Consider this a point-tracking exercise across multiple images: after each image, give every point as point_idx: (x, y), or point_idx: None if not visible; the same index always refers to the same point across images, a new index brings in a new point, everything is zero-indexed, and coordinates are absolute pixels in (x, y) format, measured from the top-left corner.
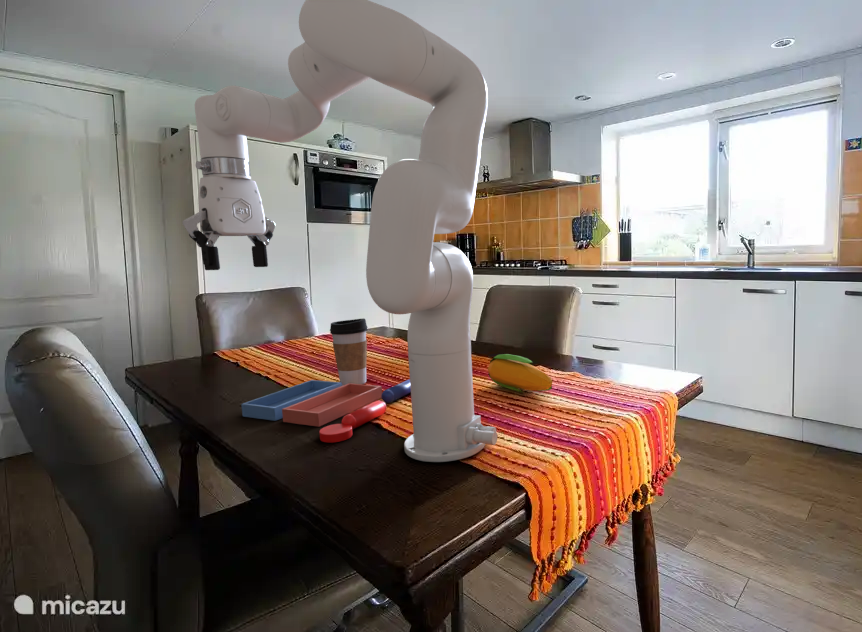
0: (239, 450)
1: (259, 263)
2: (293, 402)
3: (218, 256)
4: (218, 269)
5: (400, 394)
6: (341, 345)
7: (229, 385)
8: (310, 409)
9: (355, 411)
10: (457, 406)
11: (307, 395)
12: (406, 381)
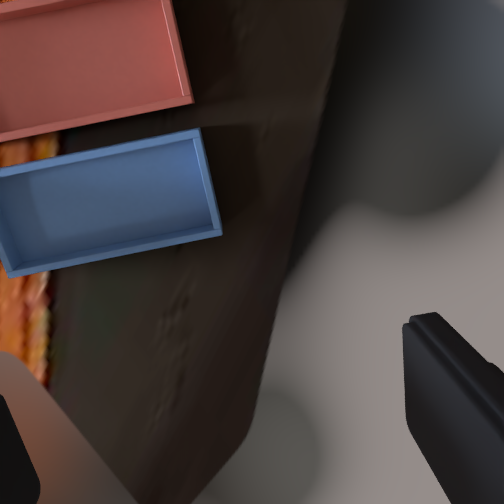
0: (339, 17)
1: (7, 453)
2: (141, 140)
3: (454, 378)
4: (414, 316)
5: None
6: None
7: (123, 467)
8: (116, 109)
9: None
10: None
11: (93, 150)
12: None
